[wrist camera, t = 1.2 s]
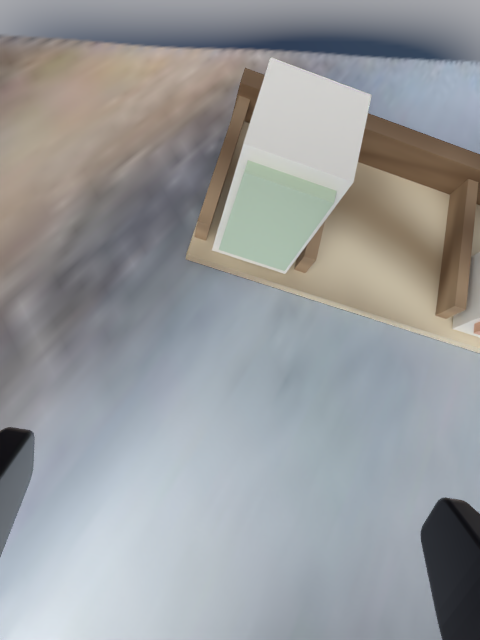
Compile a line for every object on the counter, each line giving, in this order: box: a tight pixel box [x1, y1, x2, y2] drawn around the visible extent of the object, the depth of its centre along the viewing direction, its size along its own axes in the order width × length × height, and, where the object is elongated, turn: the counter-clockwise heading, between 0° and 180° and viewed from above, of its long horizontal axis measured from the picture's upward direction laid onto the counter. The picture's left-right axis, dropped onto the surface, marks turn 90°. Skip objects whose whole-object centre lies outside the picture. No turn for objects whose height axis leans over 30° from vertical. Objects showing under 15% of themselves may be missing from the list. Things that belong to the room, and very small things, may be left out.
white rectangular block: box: [212, 57, 372, 274], centre depth 19 cm, size 4×4×8 cm
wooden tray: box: [186, 68, 480, 353], centre depth 23 cm, size 10×19×3 cm, turn 75°
